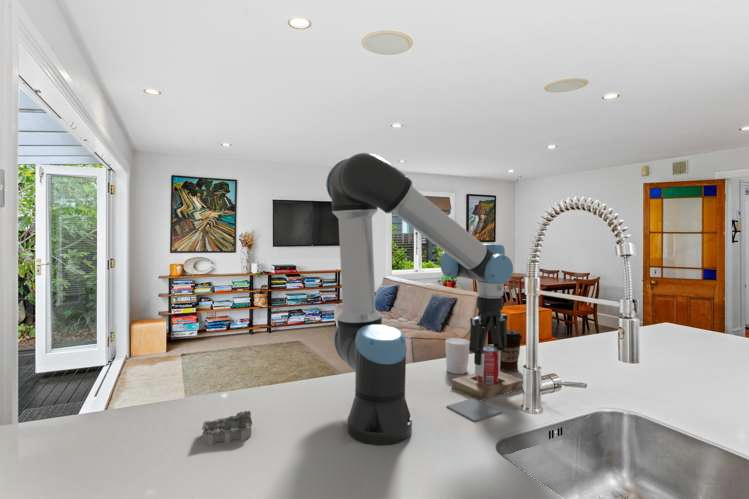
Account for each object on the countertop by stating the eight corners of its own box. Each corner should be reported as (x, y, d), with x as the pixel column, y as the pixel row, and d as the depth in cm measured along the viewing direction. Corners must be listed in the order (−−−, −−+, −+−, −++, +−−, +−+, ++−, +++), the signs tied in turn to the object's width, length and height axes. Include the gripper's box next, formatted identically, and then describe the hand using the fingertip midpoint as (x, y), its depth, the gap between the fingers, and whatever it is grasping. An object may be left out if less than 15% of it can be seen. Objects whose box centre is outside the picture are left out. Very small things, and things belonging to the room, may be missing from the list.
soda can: (476, 390, 125) (477, 350, 124) (475, 383, 131) (476, 344, 131) (498, 392, 124) (500, 351, 123) (496, 384, 130) (498, 345, 129)
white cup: (462, 376, 137) (463, 345, 137) (440, 371, 142) (441, 341, 141) (472, 370, 143) (473, 340, 143) (451, 365, 148) (452, 336, 148)
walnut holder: (480, 400, 118) (480, 391, 118) (451, 387, 127) (451, 379, 127) (523, 388, 128) (523, 380, 128) (493, 376, 137) (493, 369, 137)
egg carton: (252, 426, 101) (252, 409, 101) (251, 442, 94) (251, 423, 94) (204, 430, 99) (204, 413, 99) (199, 447, 92) (199, 428, 91)
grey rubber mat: (474, 421, 105) (474, 420, 105) (446, 407, 113) (446, 405, 113) (502, 412, 110) (502, 411, 110) (473, 399, 119) (473, 398, 119)
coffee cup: (524, 374, 140) (526, 335, 139) (499, 373, 140) (500, 334, 140) (516, 365, 149) (517, 328, 148) (492, 365, 149) (493, 328, 148)
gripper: (476, 300, 118) (473, 382, 119) (521, 295, 128) (519, 371, 129) (457, 296, 124) (454, 374, 125) (501, 292, 134) (499, 364, 136)
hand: (487, 373), depth 127 cm, fingers closed on soda can, 6 cm apart
